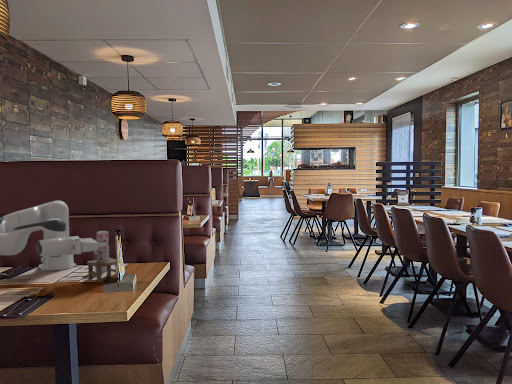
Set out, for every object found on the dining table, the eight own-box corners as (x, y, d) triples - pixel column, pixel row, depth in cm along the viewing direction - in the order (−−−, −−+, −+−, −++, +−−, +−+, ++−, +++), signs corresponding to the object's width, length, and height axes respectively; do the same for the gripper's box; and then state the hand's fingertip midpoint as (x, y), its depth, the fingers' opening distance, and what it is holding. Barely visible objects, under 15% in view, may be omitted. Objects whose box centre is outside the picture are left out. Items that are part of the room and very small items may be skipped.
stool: (87, 279, 201) (87, 261, 201) (110, 274, 210) (109, 257, 210) (98, 282, 193) (97, 264, 193) (121, 278, 202) (120, 260, 201)
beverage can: (107, 259, 205) (106, 230, 205) (110, 261, 200) (109, 231, 200) (95, 261, 201) (94, 231, 201) (99, 262, 197) (98, 232, 197)
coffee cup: (112, 269, 223) (111, 243, 222) (105, 273, 214) (104, 245, 214) (98, 269, 223) (97, 243, 223) (90, 273, 215) (89, 245, 215)
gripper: (72, 248, 203) (100, 246, 210) (77, 254, 185) (108, 251, 193) (71, 236, 203) (100, 234, 210) (77, 241, 185) (108, 238, 193)
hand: (104, 242), depth 201 cm, fingers open, 8 cm apart
